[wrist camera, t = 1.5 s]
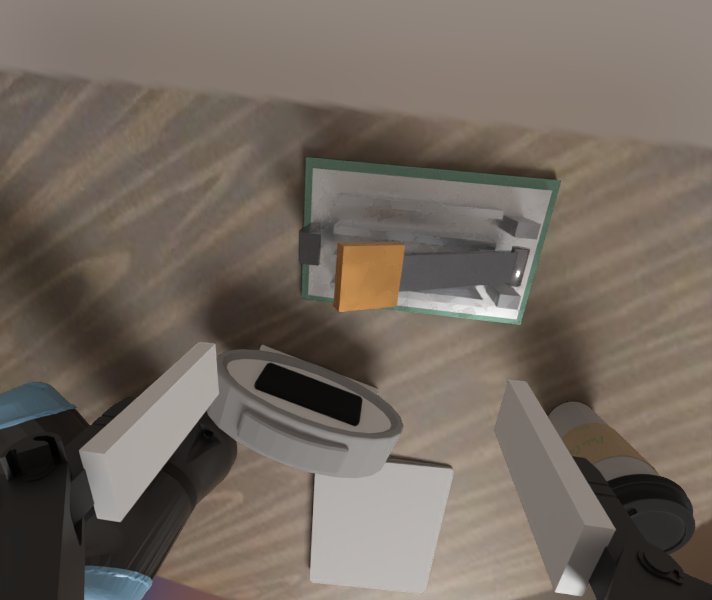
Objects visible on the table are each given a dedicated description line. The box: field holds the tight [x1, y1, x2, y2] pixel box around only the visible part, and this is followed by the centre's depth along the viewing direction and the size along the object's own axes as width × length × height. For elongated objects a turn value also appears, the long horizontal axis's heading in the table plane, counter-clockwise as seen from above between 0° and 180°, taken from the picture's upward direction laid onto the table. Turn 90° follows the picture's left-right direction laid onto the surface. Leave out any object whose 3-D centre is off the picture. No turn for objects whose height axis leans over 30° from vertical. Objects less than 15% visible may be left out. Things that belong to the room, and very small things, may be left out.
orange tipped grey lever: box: [333, 242, 530, 312], centre depth 30 cm, size 19×5×2 cm, turn 85°
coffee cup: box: [548, 402, 695, 555], centre depth 39 cm, size 9×9×15 cm
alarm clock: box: [207, 345, 403, 478], centre depth 42 cm, size 23×6×13 cm, turn 69°
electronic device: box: [310, 458, 453, 594], centre depth 56 cm, size 29×20×2 cm
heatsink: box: [299, 157, 561, 325], centre depth 36 cm, size 26×16×8 cm, turn 85°
